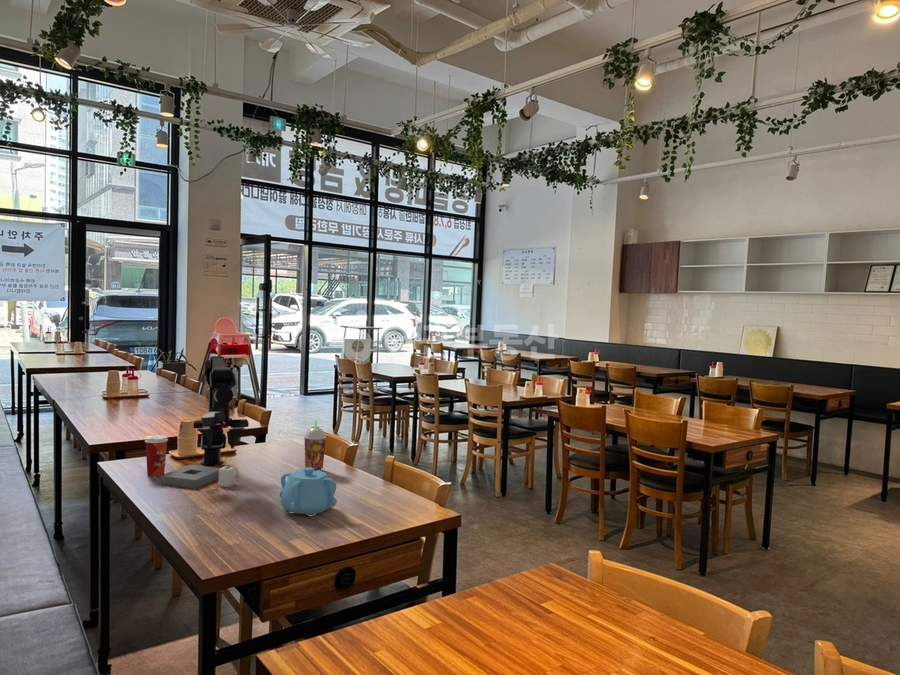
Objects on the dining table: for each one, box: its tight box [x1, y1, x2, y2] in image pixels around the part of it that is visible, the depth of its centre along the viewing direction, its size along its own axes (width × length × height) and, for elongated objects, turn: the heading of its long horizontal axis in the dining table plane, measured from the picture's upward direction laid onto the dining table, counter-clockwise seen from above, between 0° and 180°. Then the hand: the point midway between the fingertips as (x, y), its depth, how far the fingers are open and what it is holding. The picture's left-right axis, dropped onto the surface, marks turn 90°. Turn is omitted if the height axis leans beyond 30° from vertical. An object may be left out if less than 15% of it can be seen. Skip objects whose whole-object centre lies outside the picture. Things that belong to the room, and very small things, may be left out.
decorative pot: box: [279, 467, 338, 515], centre depth 192 cm, size 16×16×14 cm
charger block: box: [217, 465, 237, 488], centre depth 215 cm, size 4×4×6 cm
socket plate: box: [159, 464, 220, 489], centre depth 218 cm, size 16×14×3 cm
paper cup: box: [144, 434, 169, 477], centre depth 222 cm, size 8×8×14 cm
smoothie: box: [303, 419, 327, 471], centre depth 237 cm, size 8×8×20 cm
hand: (220, 448), depth 213 cm, fingers open, 9 cm apart
